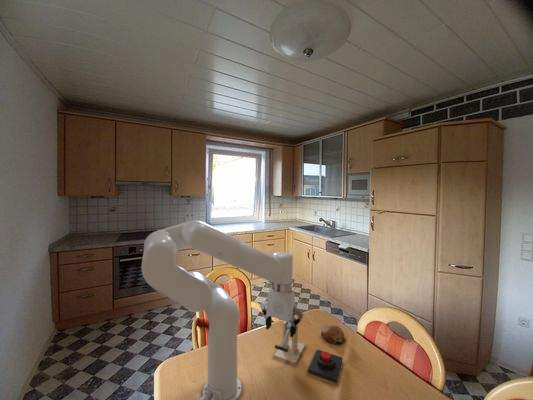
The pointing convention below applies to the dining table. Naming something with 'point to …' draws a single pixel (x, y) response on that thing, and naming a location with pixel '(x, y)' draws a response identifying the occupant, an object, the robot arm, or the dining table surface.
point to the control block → (326, 367)
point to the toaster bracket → (290, 346)
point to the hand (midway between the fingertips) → (280, 331)
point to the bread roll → (332, 334)
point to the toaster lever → (284, 339)
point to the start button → (325, 357)
